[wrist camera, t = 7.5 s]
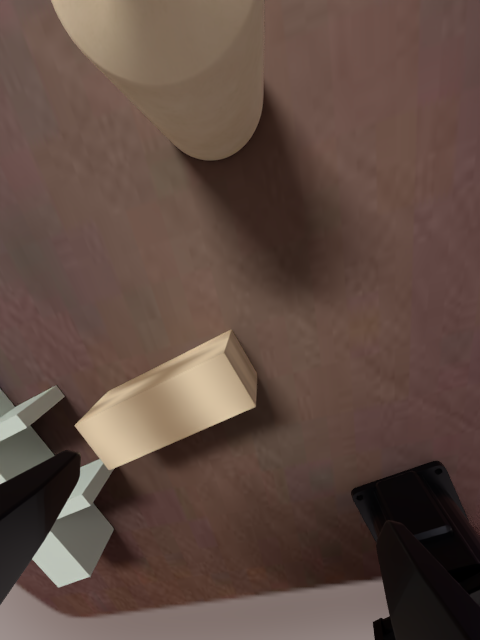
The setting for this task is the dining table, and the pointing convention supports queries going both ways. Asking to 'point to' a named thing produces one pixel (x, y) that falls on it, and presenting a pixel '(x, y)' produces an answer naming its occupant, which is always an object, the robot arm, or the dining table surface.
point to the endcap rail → (79, 511)
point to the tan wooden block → (171, 402)
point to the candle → (180, 64)
